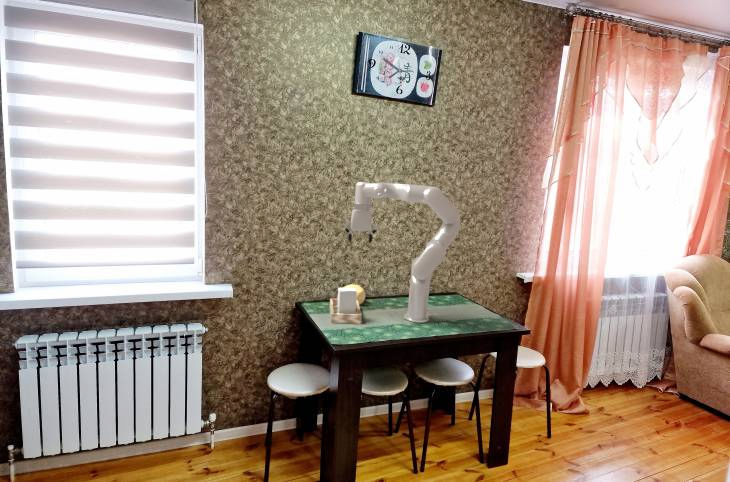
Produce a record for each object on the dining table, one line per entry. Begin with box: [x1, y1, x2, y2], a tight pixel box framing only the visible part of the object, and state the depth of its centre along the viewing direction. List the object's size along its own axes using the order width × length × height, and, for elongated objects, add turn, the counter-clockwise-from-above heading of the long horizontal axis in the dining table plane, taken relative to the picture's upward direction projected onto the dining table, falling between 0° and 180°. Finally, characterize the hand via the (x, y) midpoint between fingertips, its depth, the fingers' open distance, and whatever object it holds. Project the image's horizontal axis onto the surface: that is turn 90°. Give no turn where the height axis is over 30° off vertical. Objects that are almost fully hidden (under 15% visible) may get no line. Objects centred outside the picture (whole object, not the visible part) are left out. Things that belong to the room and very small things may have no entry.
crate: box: [329, 297, 363, 325], centre depth 230 cm, size 14×24×5 cm, turn 6°
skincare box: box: [337, 287, 357, 314], centre depth 223 cm, size 8×6×15 cm
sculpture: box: [343, 283, 366, 306], centre depth 249 cm, size 12×12×11 cm
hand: (360, 242), depth 231 cm, fingers open, 9 cm apart
